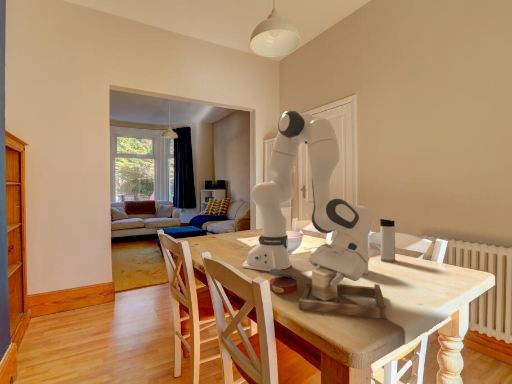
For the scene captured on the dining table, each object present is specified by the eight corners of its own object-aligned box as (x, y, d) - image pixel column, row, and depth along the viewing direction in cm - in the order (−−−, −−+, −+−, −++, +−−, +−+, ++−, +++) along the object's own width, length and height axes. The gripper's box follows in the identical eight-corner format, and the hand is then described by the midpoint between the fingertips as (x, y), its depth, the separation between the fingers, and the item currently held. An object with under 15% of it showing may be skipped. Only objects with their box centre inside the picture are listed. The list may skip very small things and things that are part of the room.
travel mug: (377, 259, 134) (376, 218, 133) (388, 258, 135) (388, 217, 135) (386, 263, 128) (385, 220, 127) (398, 261, 129) (397, 219, 129)
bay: (298, 308, 83) (298, 297, 83) (306, 288, 99) (306, 278, 99) (386, 319, 76) (385, 306, 76) (379, 295, 92) (379, 284, 92)
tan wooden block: (324, 300, 85) (323, 275, 85) (312, 294, 90) (311, 270, 90) (337, 297, 88) (336, 272, 88) (325, 291, 93) (324, 267, 93)
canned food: (269, 301, 101) (262, 274, 104) (294, 293, 104) (285, 267, 108) (280, 297, 91) (270, 267, 95) (306, 289, 95) (296, 260, 98)
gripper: (318, 237, 101) (297, 268, 97) (364, 248, 83) (341, 286, 79) (327, 248, 103) (307, 278, 99) (374, 260, 86) (352, 298, 81)
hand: (323, 282), depth 89 cm, fingers open, 6 cm apart
